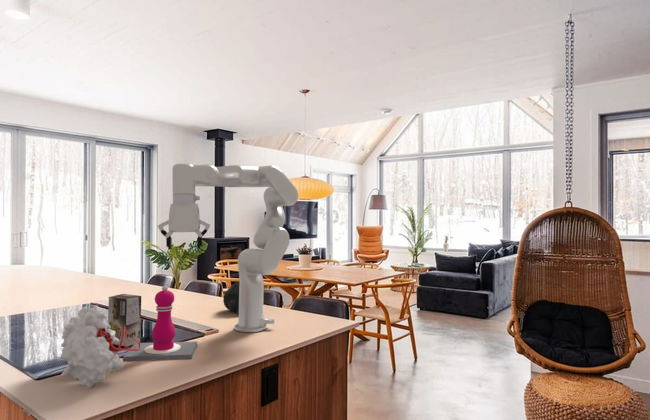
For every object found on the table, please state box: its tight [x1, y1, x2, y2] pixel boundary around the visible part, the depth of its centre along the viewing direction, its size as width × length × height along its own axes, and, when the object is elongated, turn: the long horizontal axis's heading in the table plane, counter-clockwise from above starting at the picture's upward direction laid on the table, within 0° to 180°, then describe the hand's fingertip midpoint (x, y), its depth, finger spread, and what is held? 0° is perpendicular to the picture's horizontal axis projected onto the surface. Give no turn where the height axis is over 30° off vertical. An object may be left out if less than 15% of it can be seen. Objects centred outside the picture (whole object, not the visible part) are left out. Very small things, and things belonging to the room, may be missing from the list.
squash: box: [223, 281, 240, 314], centre depth 198 cm, size 14×15×15 cm
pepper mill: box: [151, 285, 176, 351], centre depth 137 cm, size 7×7×20 cm
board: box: [122, 340, 198, 362], centre depth 137 cm, size 20×14×1 cm
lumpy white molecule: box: [60, 304, 142, 389], centre depth 117 cm, size 20×18×25 cm
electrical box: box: [107, 293, 142, 348], centre depth 146 cm, size 9×6×16 cm
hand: (184, 248), depth 147 cm, fingers open, 9 cm apart
